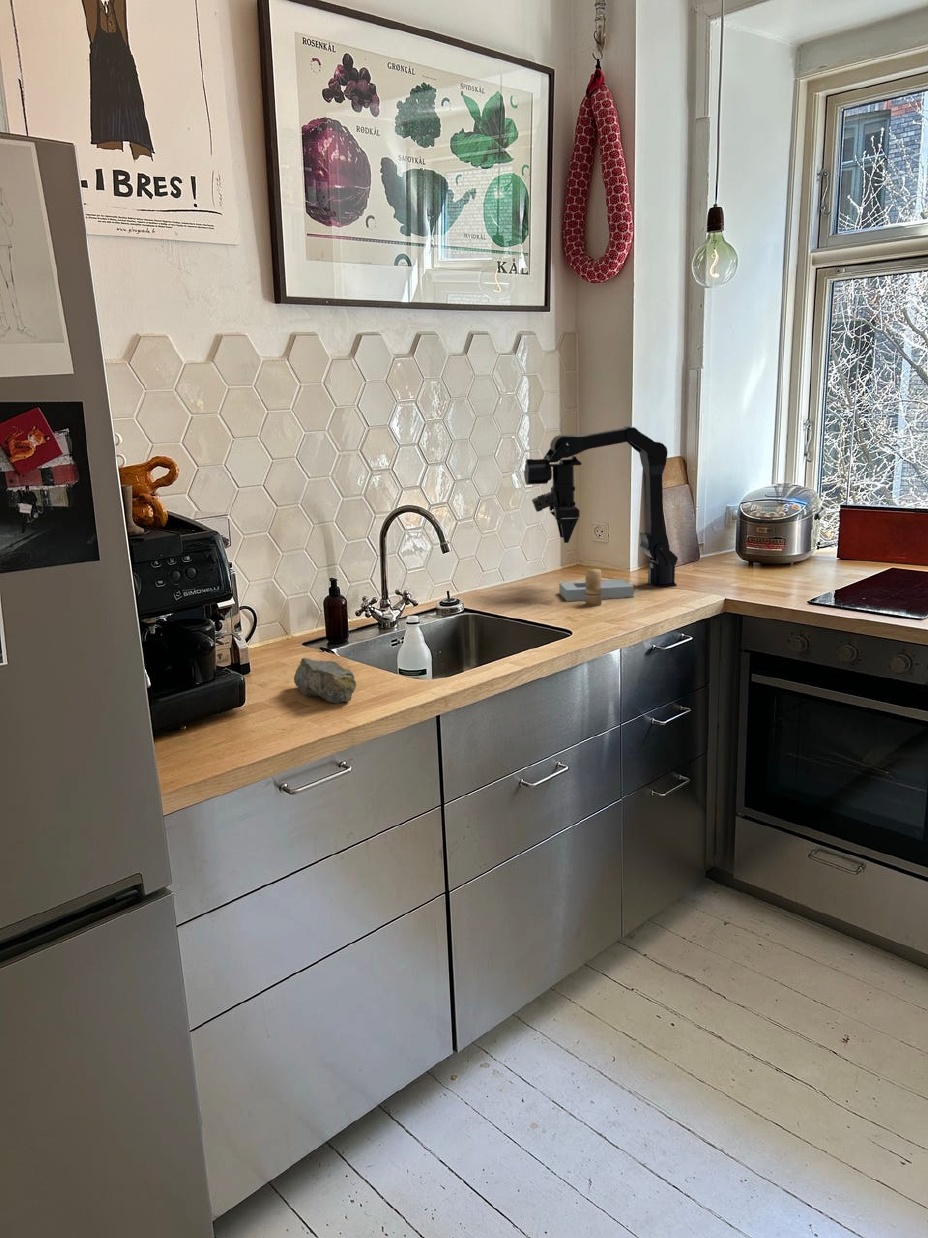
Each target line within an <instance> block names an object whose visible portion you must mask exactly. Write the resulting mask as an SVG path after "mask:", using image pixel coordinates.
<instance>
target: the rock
mask: <svg viewBox="0 0 928 1238" xmlns="http://www.w3.org/2000/svg"><path fill="white" fill-rule="evenodd" d="M293 682H294V684H295V686H296V687H297V688H298V690H299V691H300V692H301V694H303V695H304V696H308V697H320V698H322V699H324V700H325V702H328V703H330V704H335V705H338V704H341V703H345V702H350V701H352V695H353V693H354V692H355V690H356V688H357V682H356V680H355V675H354V673H353V672H352V671H351V670H350V669H347V668H344V667H342V665H340V664H339V663H338V662H335V661H327V660H316V659H315V660H313V659H310V658H308V657H307V658H306V657H302V658H301V660H300V661H299V665H298V666H297V668H296V670H295V673H294V677H293Z"/></svg>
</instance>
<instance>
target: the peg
mask: <svg viewBox="0 0 928 1238" xmlns="http://www.w3.org/2000/svg"><path fill="white" fill-rule="evenodd" d="M601 580H602V570H601V569H599V568H588V569H585V581H586V593H585V594H586V600H585V606H587V607H588V606H589V607H599V606H601V605H602V599H601V594H602V592H601Z"/></svg>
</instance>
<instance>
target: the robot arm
mask: <svg viewBox="0 0 928 1238" xmlns="http://www.w3.org/2000/svg"><path fill="white" fill-rule="evenodd" d="M623 443H627V444H628V445H629V446H630V447H632V448H633V449H634V450H635V451H636V452H638V453H639V459H640V462H641V463H640V464H641V467H642V470H643V472H644V475H645V498H646V499H645V504H646V507H645V508H646V528H645V531H644V532H643V531H642V532H639V536H640V544H639V547H640V548H641V549H642V551H643V553H644V554H645V555H646V556H647V557H648V560H649V561H650V562H649V567H648V568H647V583H648V584H649V585H651V586H653V587H654V588H657V587H659V588H661V587H674V586H678V585H677V584H678V583H676V582H675V581H676V580H675V579H676V578H675V577H676V573H675V572H676V565H677V562H678V560H679V558H678V556H677V555H676V554H675V553H673V551H671V548H670V544H669V539H668V535H667V532H666V530H665V527H664V492H663V490H664V489H663V474H664V472H665V469H666V465H667V459H668V447H667V446H666V445H665V444H663V443H662V442H658V441H654V440H653V439H652V438H650V437H648V436H647V435H645V433H642V432H641V431H639V430H638V429H637V427H635V426H628V425H627V426H624V427H622V428H615V429H611V430H610V429H609V430H604V431H599V432H593V433H588V434H581V435H579V434H578V435H577V434H559V435H556V436H554V437H553V438H552V440H551V441H550V447H549V449H548V451H547V452H546V454H545V455H544V457H543V458H538V459H537V458H534V459H532V458H526V459H525V465H524V470H523V475H524V476H523V477H524V482H525V485H526V486H529V485H546V484H548V483H549V481H551V480H552V485H551V487H550V491H549V492H547V493H544V494H543V493H542V494H541V495H538V496H536V497H535V498H532V499H531V502H532V504H533V507H534V509H535V511H536V513H539V512H541V511H543V510H544V509H546V508H548V510H549V513H550V514H551V515H552V516H553V517H554V519H555V521H556V524H557V529H558V533H559V537H560V538H562V539H563V543H564V544H568V543H569V542H570V540H571V536H572V535H573V532H574V529H575V527H576V525H577V523H578V521H579V518H580V509H579V508H578V507H577V506H576V502H575V491H576V487H575V468H574V467H575V466H581V465H582V462H581V461H580V460H579V459H578V458H577V457H576V456H577V455H578V454H580V453H582V452H585V451H586V450H587V451H588V450H591V449H596V448H602V447H606V446H612V445H618V444H623ZM575 455H576V456H575Z"/></svg>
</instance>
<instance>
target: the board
mask: <svg viewBox="0 0 928 1238" xmlns="http://www.w3.org/2000/svg"><path fill="white" fill-rule="evenodd" d="M558 586H559V587H558V588H559V590H558V591H559V593H558V594H560V596H561V597H562V598H563V599H564V600H565V601H566V602H577V601H579V602H580V601H586V594H585V593H586V580H582V581H581V580H580V581H566V582H565V581H563V582H559V585H558ZM601 592H602V594H601V600H609V598H613V599H626V598H625V597H629V598H634V585H632V584H631V583H630V582H628V580H626V579H624V578H614V579H601Z"/></svg>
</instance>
